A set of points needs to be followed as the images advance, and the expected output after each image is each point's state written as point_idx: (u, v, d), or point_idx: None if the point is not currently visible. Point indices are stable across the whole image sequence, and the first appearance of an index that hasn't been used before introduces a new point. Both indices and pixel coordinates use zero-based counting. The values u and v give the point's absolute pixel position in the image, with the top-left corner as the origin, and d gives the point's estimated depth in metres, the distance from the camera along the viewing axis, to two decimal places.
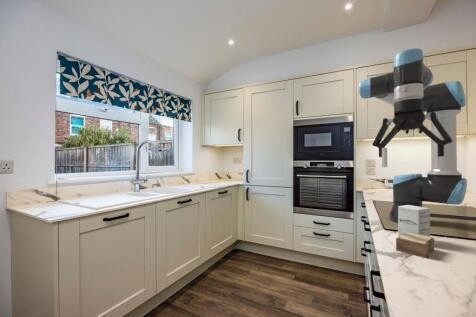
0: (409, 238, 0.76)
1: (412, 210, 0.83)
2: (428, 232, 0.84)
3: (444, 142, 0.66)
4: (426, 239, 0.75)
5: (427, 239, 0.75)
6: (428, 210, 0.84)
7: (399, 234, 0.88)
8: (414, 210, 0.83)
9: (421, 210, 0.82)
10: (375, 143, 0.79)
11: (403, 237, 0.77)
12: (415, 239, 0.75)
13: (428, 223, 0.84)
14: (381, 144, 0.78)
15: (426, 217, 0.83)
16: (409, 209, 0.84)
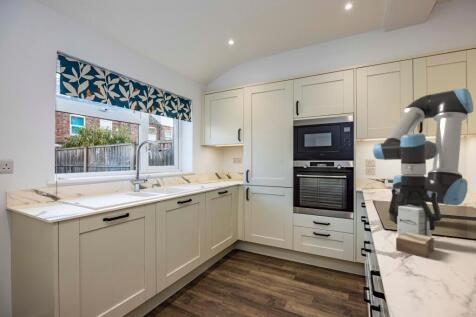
0: (409, 238, 0.76)
1: (412, 210, 0.83)
2: None
3: (435, 219, 0.81)
4: (426, 239, 0.75)
5: (427, 239, 0.75)
6: None
7: (399, 234, 0.88)
8: (414, 210, 0.83)
9: (421, 210, 0.82)
10: (391, 211, 0.91)
11: (403, 237, 0.77)
12: (415, 239, 0.75)
13: None
14: (396, 212, 0.90)
15: (426, 217, 0.83)
16: (409, 209, 0.84)
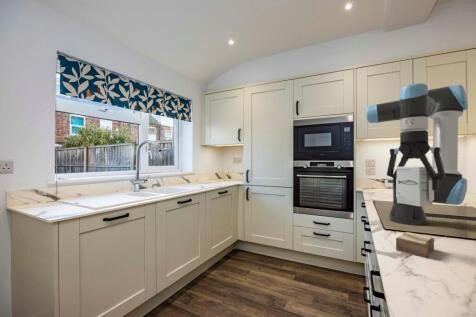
0: (409, 238, 0.76)
1: (412, 168, 0.74)
2: None
3: (438, 177, 0.72)
4: (426, 239, 0.75)
5: (427, 239, 0.75)
6: None
7: (398, 198, 0.78)
8: (414, 168, 0.74)
9: (422, 168, 0.73)
10: (389, 173, 0.82)
11: (403, 237, 0.77)
12: (415, 239, 0.75)
13: None
14: (395, 174, 0.81)
15: (428, 176, 0.74)
16: (409, 168, 0.75)
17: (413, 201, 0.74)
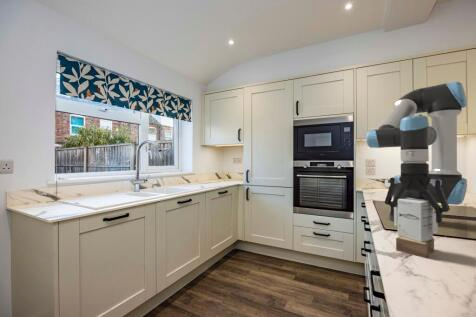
0: (409, 238, 0.76)
1: (414, 203, 0.74)
2: (431, 228, 0.75)
3: (442, 210, 0.71)
4: None
5: None
6: None
7: (399, 230, 0.78)
8: (416, 203, 0.74)
9: (424, 203, 0.73)
10: (387, 201, 0.82)
11: (403, 237, 0.77)
12: None
13: (431, 218, 0.75)
14: (393, 203, 0.81)
15: (429, 211, 0.74)
16: (410, 202, 0.75)
17: (415, 236, 0.74)
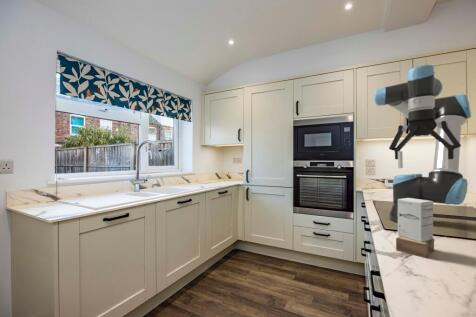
0: (409, 238, 0.76)
1: (414, 203, 0.74)
2: (431, 228, 0.75)
3: (453, 147, 0.76)
4: None
5: None
6: (431, 203, 0.75)
7: (399, 230, 0.78)
8: (416, 203, 0.74)
9: (424, 203, 0.73)
10: (391, 147, 0.90)
11: (403, 237, 0.77)
12: None
13: (431, 218, 0.75)
14: (397, 148, 0.88)
15: (429, 211, 0.74)
16: (410, 202, 0.75)
17: (415, 236, 0.74)
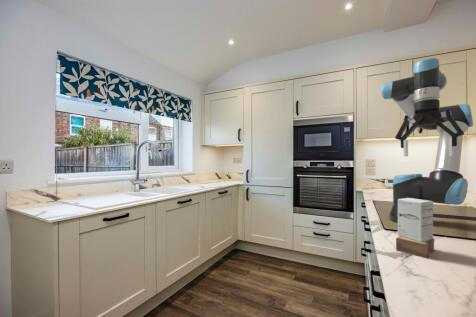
0: (409, 238, 0.76)
1: (414, 203, 0.74)
2: (431, 228, 0.75)
3: (457, 134, 0.81)
4: None
5: None
6: (431, 203, 0.75)
7: (399, 230, 0.78)
8: (416, 203, 0.74)
9: (424, 203, 0.73)
10: (397, 136, 0.94)
11: (403, 237, 0.77)
12: None
13: (431, 218, 0.75)
14: (403, 137, 0.93)
15: (429, 211, 0.74)
16: (410, 202, 0.75)
17: (415, 236, 0.74)
